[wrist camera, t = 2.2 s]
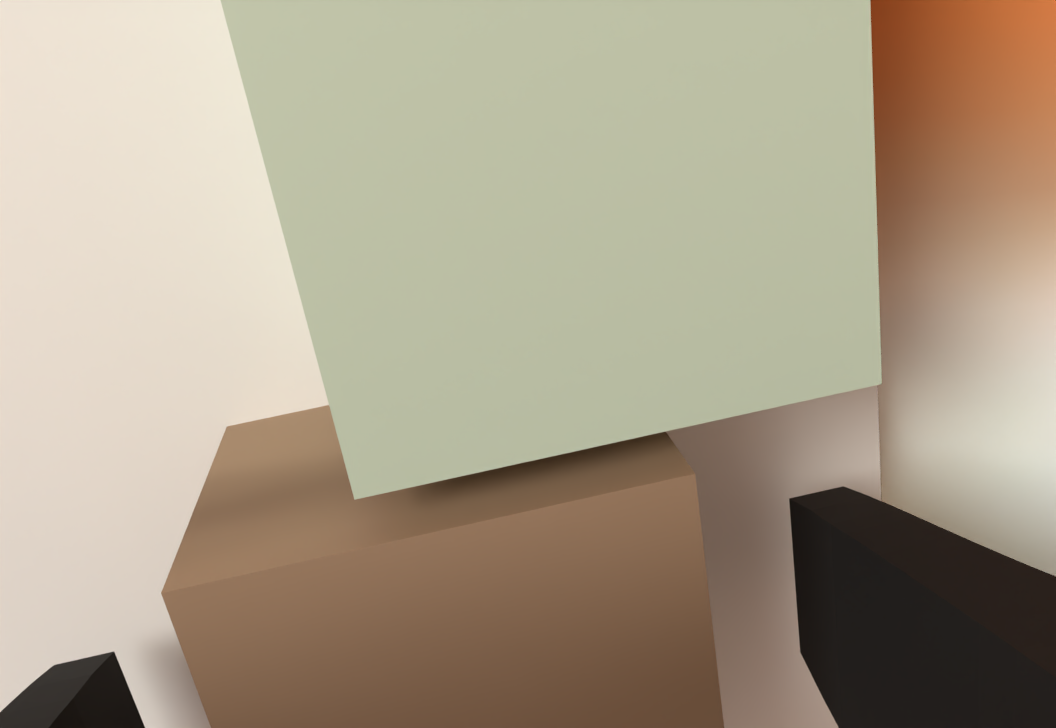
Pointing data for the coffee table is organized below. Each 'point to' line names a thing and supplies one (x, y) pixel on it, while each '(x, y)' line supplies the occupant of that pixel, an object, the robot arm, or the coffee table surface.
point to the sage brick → (566, 215)
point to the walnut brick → (445, 590)
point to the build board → (247, 364)
